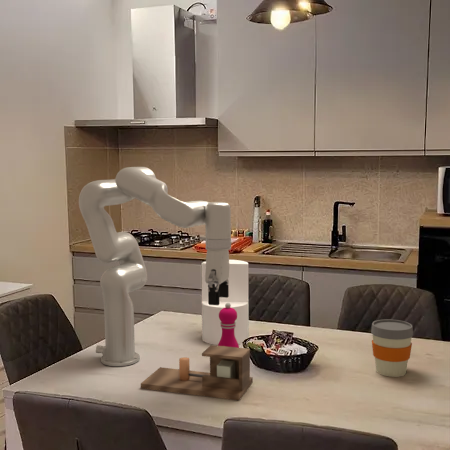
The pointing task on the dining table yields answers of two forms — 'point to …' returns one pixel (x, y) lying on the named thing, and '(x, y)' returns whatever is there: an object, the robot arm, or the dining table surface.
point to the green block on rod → (223, 370)
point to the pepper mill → (228, 326)
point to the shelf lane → (207, 384)
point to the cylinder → (236, 299)
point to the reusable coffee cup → (391, 346)
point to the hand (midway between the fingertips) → (218, 300)
